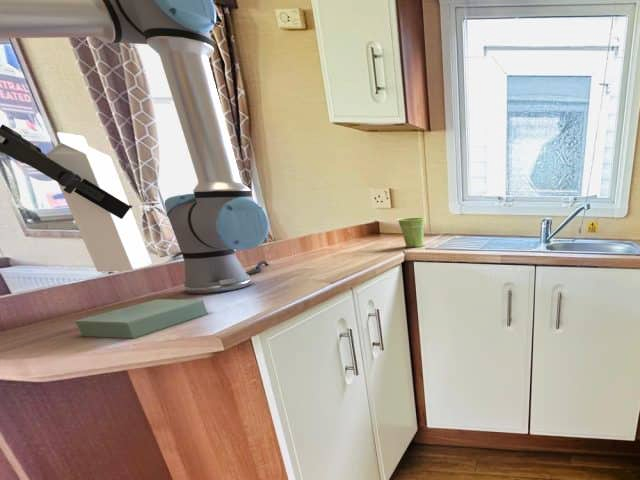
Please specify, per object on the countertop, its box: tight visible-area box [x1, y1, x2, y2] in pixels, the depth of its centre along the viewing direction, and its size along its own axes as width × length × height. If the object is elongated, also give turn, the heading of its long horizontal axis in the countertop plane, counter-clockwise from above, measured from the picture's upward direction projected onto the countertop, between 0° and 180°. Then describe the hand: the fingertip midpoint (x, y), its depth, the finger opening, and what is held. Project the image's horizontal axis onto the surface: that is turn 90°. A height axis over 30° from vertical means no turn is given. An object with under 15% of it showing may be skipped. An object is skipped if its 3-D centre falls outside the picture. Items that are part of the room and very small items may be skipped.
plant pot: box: [396, 217, 427, 248], centre depth 180 cm, size 12×12×11 cm
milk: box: [45, 131, 153, 273], centre depth 75 cm, size 6×6×22 cm
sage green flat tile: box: [74, 298, 208, 339], centre depth 84 cm, size 16×12×3 cm
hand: (127, 212), depth 77 cm, fingers closed on milk, 8 cm apart
